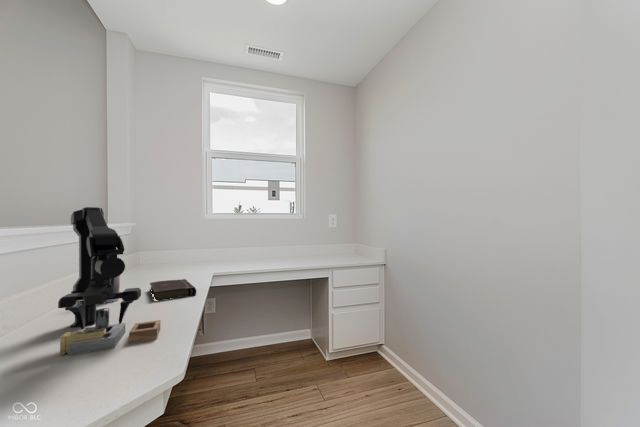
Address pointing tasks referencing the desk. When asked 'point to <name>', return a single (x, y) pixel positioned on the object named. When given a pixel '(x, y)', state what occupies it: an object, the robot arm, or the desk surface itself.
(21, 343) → the desk surface
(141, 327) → the brown square tray
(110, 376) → the desk surface
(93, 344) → the socket
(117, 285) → the beverage can
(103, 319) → the peg
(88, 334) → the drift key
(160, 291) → the diary
